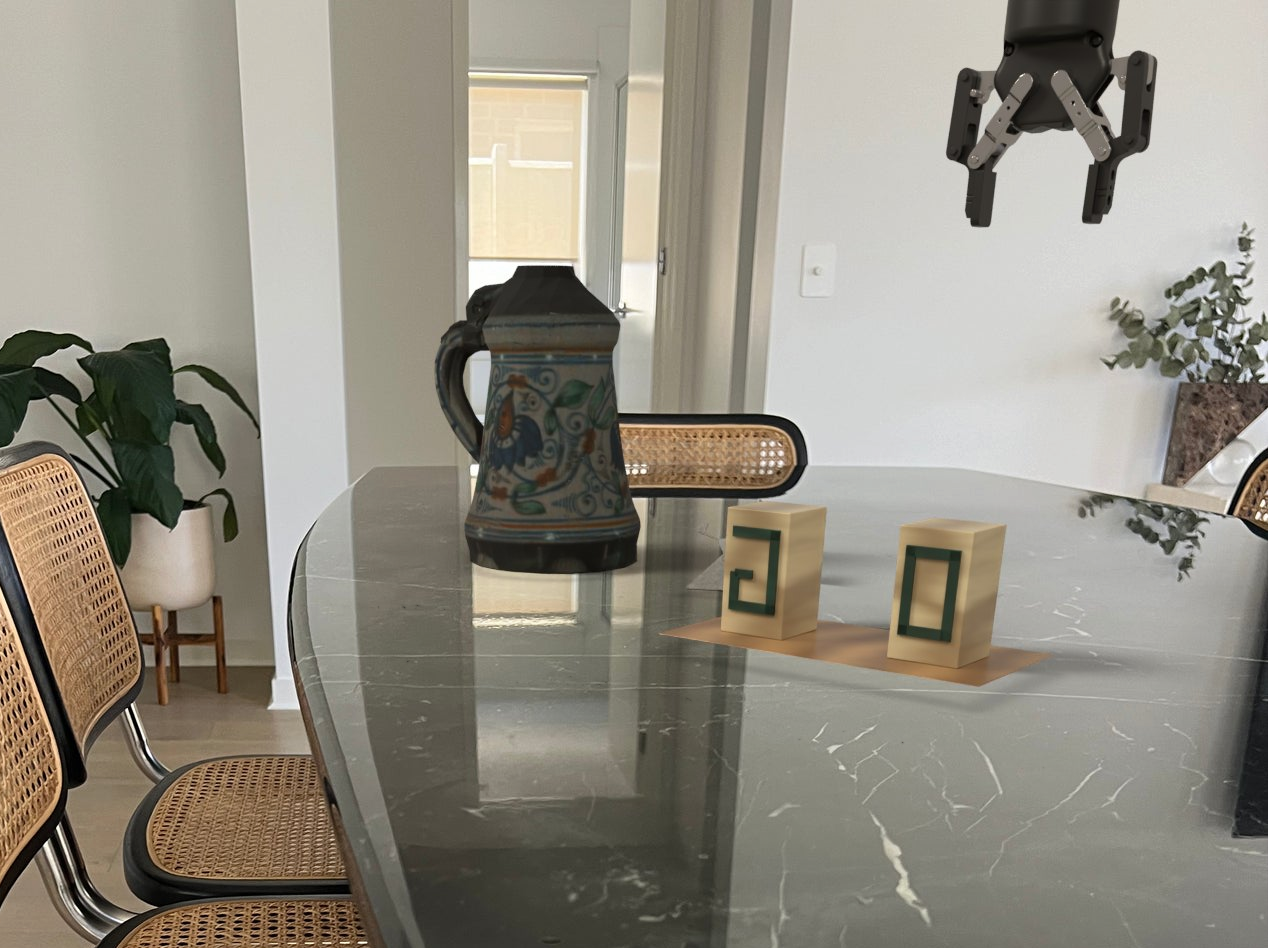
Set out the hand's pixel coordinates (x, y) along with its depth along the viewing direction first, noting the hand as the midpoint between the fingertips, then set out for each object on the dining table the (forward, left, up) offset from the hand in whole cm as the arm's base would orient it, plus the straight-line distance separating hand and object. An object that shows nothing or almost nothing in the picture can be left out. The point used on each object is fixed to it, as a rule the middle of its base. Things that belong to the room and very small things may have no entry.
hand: (1034, 225), depth 108 cm
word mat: (+13, +21, -28) cm, 37 cm away
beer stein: (+38, -18, -28) cm, 50 cm away
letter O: (+8, +25, -27) cm, 37 cm away
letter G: (+19, +17, -27) cm, 37 cm away
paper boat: (+19, -8, -28) cm, 35 cm away
